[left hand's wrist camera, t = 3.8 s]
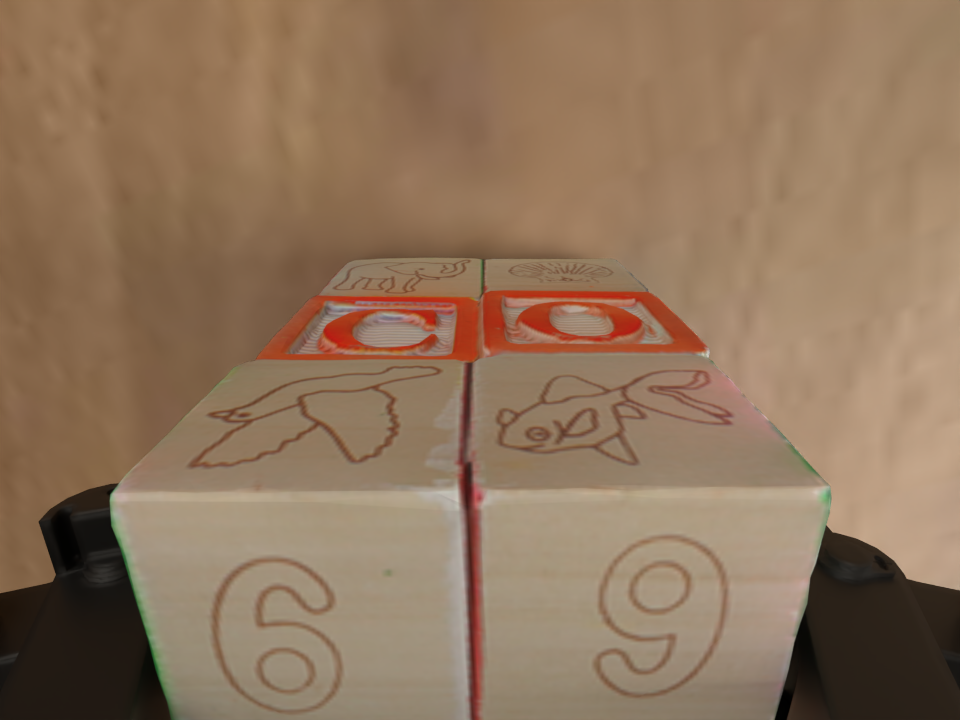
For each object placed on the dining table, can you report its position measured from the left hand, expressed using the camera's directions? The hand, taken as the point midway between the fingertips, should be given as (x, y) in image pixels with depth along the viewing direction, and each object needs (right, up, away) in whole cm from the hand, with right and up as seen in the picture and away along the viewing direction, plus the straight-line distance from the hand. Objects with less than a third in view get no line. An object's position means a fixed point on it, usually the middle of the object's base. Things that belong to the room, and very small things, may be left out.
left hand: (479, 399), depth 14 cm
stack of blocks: (0, -7, +3) cm, 7 cm away
